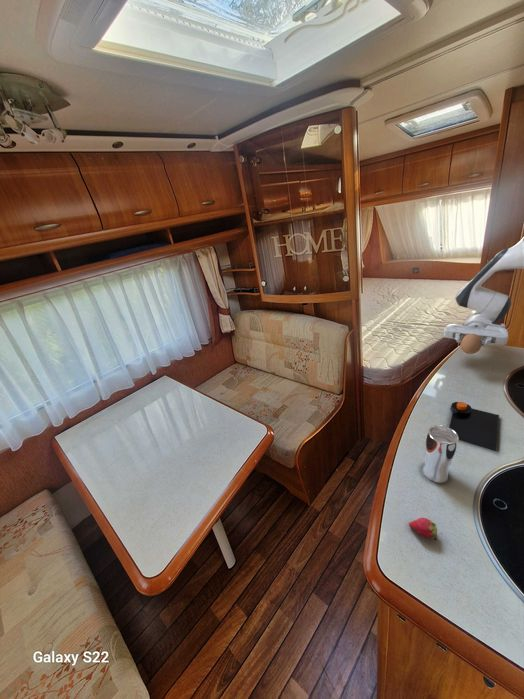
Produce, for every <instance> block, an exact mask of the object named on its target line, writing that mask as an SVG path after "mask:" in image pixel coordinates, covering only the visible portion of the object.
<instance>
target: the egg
mask: <svg viewBox="0 0 524 699" xmlns="http://www.w3.org/2000/svg"><path fill="white" fill-rule="evenodd" d="M481 344H482V341H481V339H480V337H479V336H478V335H476V334H468V335H466V336H465V337H464V338H463V339H462V341H461V343H460V349H461V350H462V352H464V353H465V354H468V355H473V354H476V353H478V352H479V351H480V350H481V349H482V346H481Z"/></svg>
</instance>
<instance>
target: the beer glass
mask: <svg viewBox="0 0 524 699" xmlns="http://www.w3.org/2000/svg"><path fill="white" fill-rule="evenodd" d="M458 439H459V437H458V435H457V433H456V432H455V431H454V430H452V429H451V428H449V426H446V425H441V424H436V425H432V426H430V427H429V428H428V429H427V433H426V437H425V442H424V454H425V462H424V464H423V466H422V473H423V475H424V476H425V478H426V479H428V480H429V481H431V482H434V483H436V484H442V483H445V482H447V481H448V479H449V468H450V466H451V464H452V463H453V461H454V459H455V458H456V455H457V452H458V446H459V440H458Z"/></svg>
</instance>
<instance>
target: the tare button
mask: <svg viewBox="0 0 524 699" xmlns="http://www.w3.org/2000/svg"><path fill="white" fill-rule="evenodd" d="M457 402H458V403H457V406H456V407H457V409H459V410H463V411H464V410H466V409H467V404H468V403H466V402H463V401H457Z"/></svg>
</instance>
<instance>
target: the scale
mask: <svg viewBox="0 0 524 699" xmlns="http://www.w3.org/2000/svg"><path fill="white" fill-rule="evenodd" d="M458 402H459V401H454V402H452V403H451V405H450V411H451V412H452V414H451V418H450V421H449V426H448V427H449V428H451V429H452V430H454V431H455V432H456V433H457V435H458V437H459V439H458V441H462V442H464V443H468V444H470V445H471V444H472V445H474V446H478V447H481V448H484V449H488V450H491V451H494V452H496V451H497V448H498V434H499V419H500V415H499V414H496V413H491V412H488V411H484V410H480V409H476V408H472V407H471V405H470V404H468V403H466V404H467V409H466V410H464V411H463V410H459V409H457V407H456V406H457V403H458Z"/></svg>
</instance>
